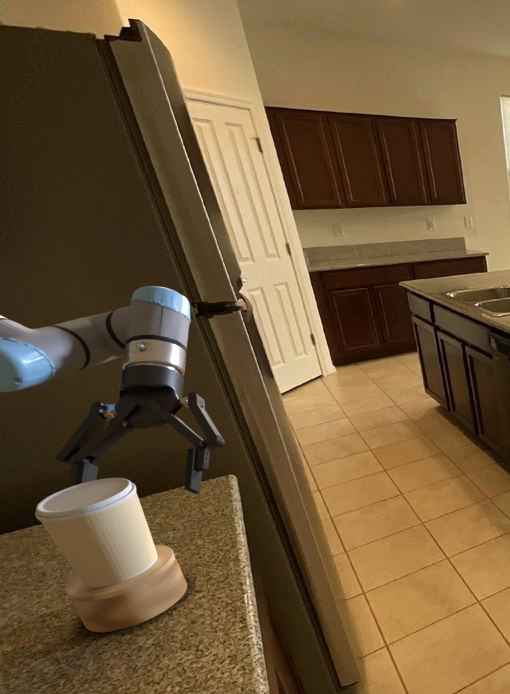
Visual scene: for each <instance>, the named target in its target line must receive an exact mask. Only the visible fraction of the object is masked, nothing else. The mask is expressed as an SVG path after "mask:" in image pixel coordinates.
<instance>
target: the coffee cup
mask: <svg viewBox="0 0 510 694" xmlns="http://www.w3.org/2000/svg"><path fill="white" fill-rule="evenodd" d="M34 515H35V518H36V519H37V520H38V521H39V522H40V523H41V524H42V525H43V526H44V528H45V530H46V532H47V533H48V535H49V536H50V537H51V539H52V541H53V542H54V543H55V545H56V547H57V548H58V550H59V551H60V553H61V554H62V555H63V557H64V558H65V560H66V561H67V563H68V564H69V566H70V567H71V568H72V570H73V571H74V573H75V575H76V574H77V576H78V577H79V578H80V580H81V581H82V582H83V584H84V585H86V586H88V587H105V586H110V585H114V584H117V583H120V582H123V581H126V580H128V579H131V578H133V577H135V576H137V575H139V574H141V573H143V572H144V571H146V570H147V569H149V568H150V567H151V566H152V565H153V564H154V563H155V562H156V560H157V552H156V549H155V545H156V544H155V543H154V539H153V537H152V534H151V531H150V528H149V524H148V522H147V519H146V515H145V513H144V510H143V508H142V504H141V501H140V499H139V496H138V493H137V486H136V484H135V483H134V482H132V481H131V480H129V479H127V478H124V477H108V478H100V479H96V480H94V481H90V482H86V483H82V484H78V485H75V486H73V485H71V486H69V487H66V488H64V489H61V490H59V491H57V492H54V493H52V494H51V495H48V496H46V497H45V498H44V499H42V500H41V501H40V502H39V503H37V505H36V508H35V512H34Z"/></svg>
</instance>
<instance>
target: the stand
mask: <svg viewBox="0 0 510 694" xmlns="http://www.w3.org/2000/svg"><path fill="white" fill-rule="evenodd" d="M154 545H155V549H156V552H157V560H156V562H155V563H154V564H153V565H152V566H151V567H150V568H149V569H147V570H146V571H144V572H143V573H141V574H139V575H137V576H135V577H133V578H131V579H128V580H126V581H123V582H120V583H117V584H114V585H110V586H105V587H88V586H86V585H84V584H83V582H82V581H81V580H80V578H79V577H78V576H77V574H76V573H75V574H74V575H73V576H72V577H71V578H70V579H69V580H68V581H67V583H66V585H65V588H64V590H65V593H66V595H67V597H68V599H69V600H70V602H71V604H72V605H73V607H74V609H75V611H76V612H77V614H78V616H79V618H80V620H81V623H82V624H83V626H84V627H85V628H86V630H88V631H90V632H94V633H109V632H116V631H120V630H124V629H129V628H131V627H134V626H137V625H140V624H141V623H144V622H146V621H148V620H150V619H152V618H155V617H157V616H158V615H160V614H162V613H164V612H165V611H167V610H168V609H170V608H171V607H173V606H174V605H175V604H176V603H177V602H179V601H180V599H181V598H182V597H183V596H184V595H185V593H186V591H187V589H188V582H187V581H186V578H185V575H184V574H183V572H182V569H181V567H180V565H179V562H178V560H177V557H176V555H175V553H174V551H173V549H172V548H171V547H169V546H167V545H164V544H163V545H162V544H154Z"/></svg>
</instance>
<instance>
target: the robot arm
mask: <svg viewBox="0 0 510 694" xmlns="http://www.w3.org/2000/svg"><path fill="white" fill-rule="evenodd" d="M191 322H192V319H191V305H190V301H189V299H188V298H187V297H186V296H184V295H183V294H181V293H179V292H178V291H177V290H174V289H172V288H168V287H164V286H156V285H148V286H142V287H138V288H137V289H136V290H135V291H134V292H133V294H132V297H131V298H130V305H128V306H125V307H121V308H117V309H114V310H112V311H107V312H102V313H99V314H94V315H89V316H85V317H79V318H75V319H71V320H68V321H64V322H59V323H56V324H51V325H46V326H42V327H38V328H29V327H27V326H24V325H23V324H20V323H19V322H16V321H14V320H11V319H9V318H7V317H5V316H3V315H1V314H0V393H1V392H3V393H9V392H10V393H11V392H15V391H21V390H25V389H30V388H32V387H39V386H41V385H45V384H46V383H48V382H50V381H53V380H56V379H59V378H62V377H64V376H68V375H70V374H74V373H76V372H79V371H83V370H86V369H89V368H92V367H95V366H98V365H101V364H102V365H103V364H105V363H108V362H110V361H112V360H117V359H120V358H121V359H122V358H123V360H122V370H121V372H120V378H119V386H118V394H119V398H118V400H117V401H116V403H103V402H102V401H101V402H100V401H94V402H93V403H92V404H91V406H90V409H89V412H88V414H87V416H86V418H85V419H84V420H83V421H82V422H81V424H80V425H79V426H78V428H77V429H76V430H75V431H74V432H73V434H72V435H71V437H70V438H69V439H68V440H67V441H66V442H65V444H64V445H63V446H62V448H61V449H60V450H59V451H58V453H57V454H56V456H55V460H57V461H59V462H62V463H64V464H66V465H69V466H71V468H70V476H69V479H68V480H69V481H68V482H69V485H70V486H75V485H78V484H82V483H86V482H90V481H94V480H97V477H98V470H99V466H97V465H94V464H95V463H96V462H97V461H98V460H99V459H100V458H101V457H103V456H104V455H105V454H106V453H108V451H109V450H110V449H112V448H113V447H114V446H115V445H116V444H117V443H118V442H119V441H121V440H122V439H123V438H124V437H125V436H126V435H129V434H132V433H133V432H134V431H135V430H136V429H139V430H143V429H144V430H146V429H149V428H163V427H164V426H165V425H167V424H169V426H171V427H172V428H173V429H174V430H175V431H177V432H178V433H179V434H180V435H181V436H182V437H183V438H185V439H186V441H188V442H189V443H190V444H192V446H193V448H187V456H186V468H185V479H184V490H185V491H188V492H189V493H191V494H194V495H196V494H201V488H202V477H203V472H205V471H208V469H209V466H210V454H211V452H212V450H214V449H217V448H223V447H224V446H225V445H226V441H225V440H224V438H223V436H222V435H221V433H220V431H219V430H218V429H217V427H216V425H215V424H214V422H213V420H212V418H211V417H210V416H209V414H208V413H207V410H206V402H205V399H204V398H202V397H201V396H200V395H198V394H197V393H196V392H195V391H193V392H189V393H188V394H187V396H183V392H184V383H185V382H184V381H185V378H184V376H185V372H186V359H187V349H188V339H189V329H190V324H191ZM184 407H185V408H187V410H189V411H190V412H191V414H192V416H193V417H194V419H195V421H196V422H197V424H198V425H199V427H200V429H201V431H202V432H203V434H204V436H205V437H206V439H203V438H202V437H201V436H200V435H198V434H197V433H196V431H194V430H192V429H191V428H190V427H189V426H188V425H187V424H186V423H185V422H183V420H181V419H180V418H179V417H178V416H177V414H178V413H179V412H180V411H181V410H182V409H183V408H184ZM116 413H117V414H116ZM115 414H116V415H115ZM124 422H125V423H126V424H123V423H124ZM194 447H195V448H194Z"/></svg>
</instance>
